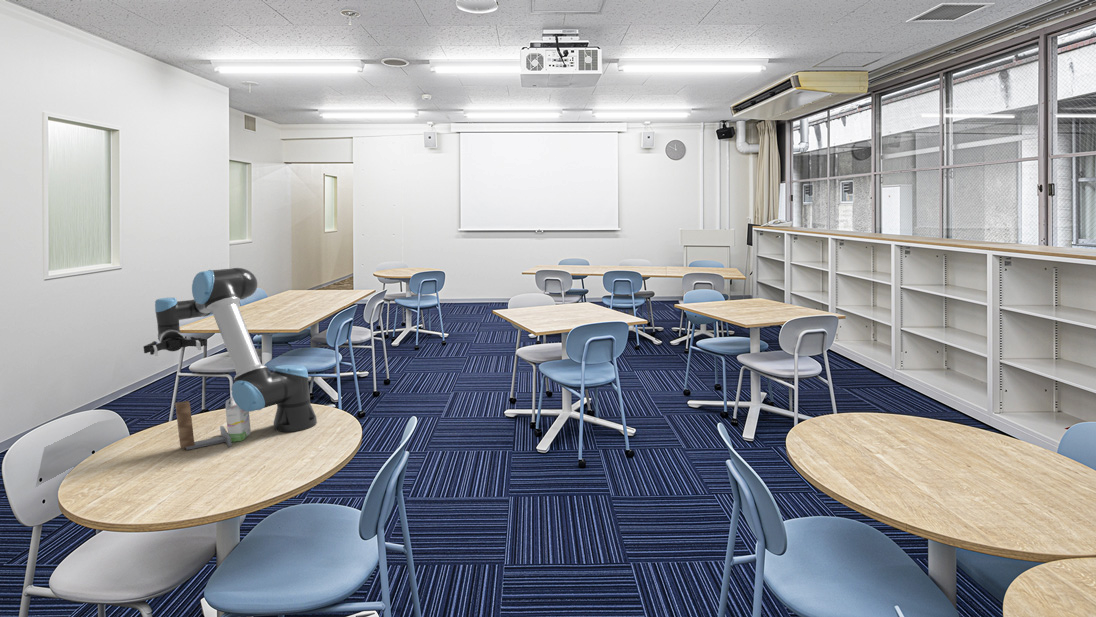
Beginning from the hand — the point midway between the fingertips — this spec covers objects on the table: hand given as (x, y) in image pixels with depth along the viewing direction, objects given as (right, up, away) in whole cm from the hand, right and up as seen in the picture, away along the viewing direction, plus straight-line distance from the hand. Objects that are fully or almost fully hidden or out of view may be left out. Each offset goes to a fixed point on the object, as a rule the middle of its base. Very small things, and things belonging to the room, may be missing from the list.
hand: (178, 349), depth 226 cm
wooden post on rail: (+14, -33, -7) cm, 36 cm away
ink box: (+23, -32, -1) cm, 39 cm away
